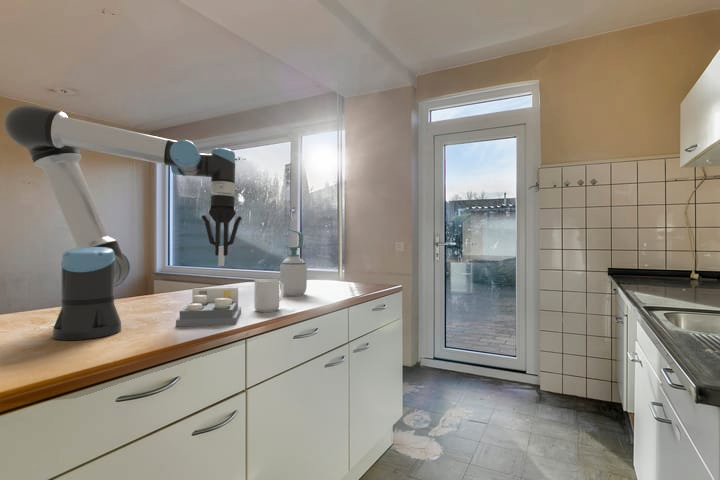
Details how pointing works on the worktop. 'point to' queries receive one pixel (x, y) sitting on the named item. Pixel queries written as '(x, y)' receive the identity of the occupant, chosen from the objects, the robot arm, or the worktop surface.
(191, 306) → the button front left
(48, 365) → the worktop surface
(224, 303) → the button front right
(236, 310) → the button pad
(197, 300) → the button back left
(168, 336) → the worktop surface
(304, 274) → the soap bottle
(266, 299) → the mug
